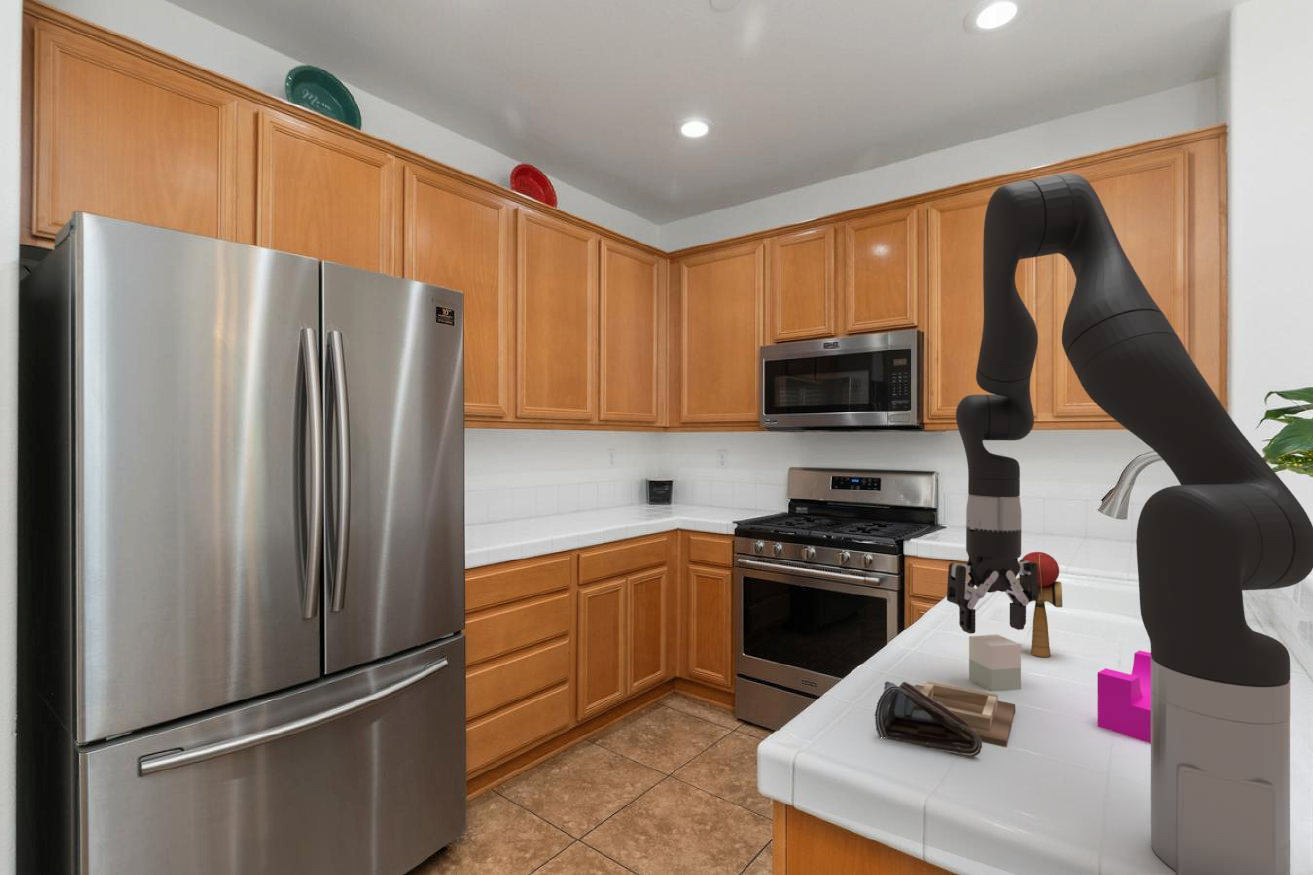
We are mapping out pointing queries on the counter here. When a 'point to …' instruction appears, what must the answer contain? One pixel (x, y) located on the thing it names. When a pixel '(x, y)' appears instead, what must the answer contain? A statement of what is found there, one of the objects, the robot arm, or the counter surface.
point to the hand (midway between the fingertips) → (992, 630)
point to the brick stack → (995, 662)
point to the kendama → (1044, 600)
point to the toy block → (1127, 699)
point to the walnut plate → (976, 710)
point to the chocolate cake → (923, 722)
